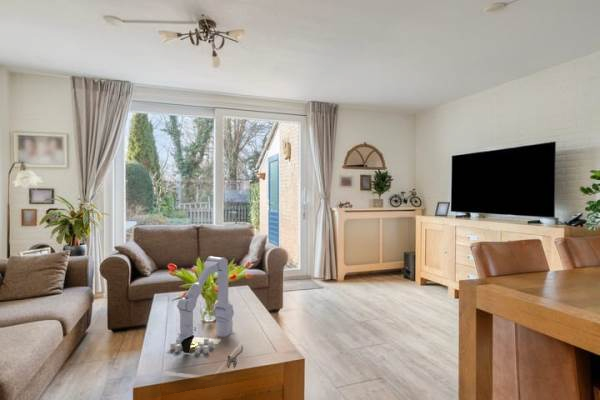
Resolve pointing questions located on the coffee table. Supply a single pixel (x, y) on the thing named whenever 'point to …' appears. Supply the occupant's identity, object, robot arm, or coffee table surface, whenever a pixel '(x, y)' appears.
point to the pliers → (233, 359)
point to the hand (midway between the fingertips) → (186, 352)
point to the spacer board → (201, 350)
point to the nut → (193, 346)
